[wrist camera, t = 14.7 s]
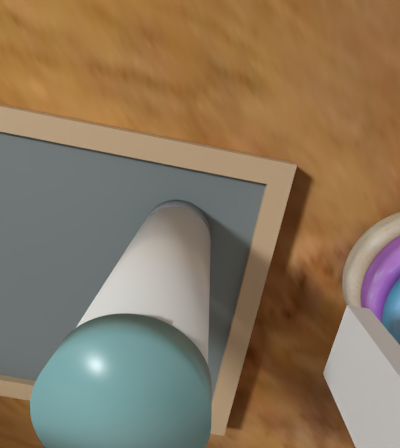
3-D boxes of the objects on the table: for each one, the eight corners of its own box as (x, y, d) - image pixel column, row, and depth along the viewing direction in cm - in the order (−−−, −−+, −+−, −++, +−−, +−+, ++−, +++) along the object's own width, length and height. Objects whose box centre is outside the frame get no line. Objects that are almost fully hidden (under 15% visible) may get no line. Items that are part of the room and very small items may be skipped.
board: (-112, 357, 24) (-131, 371, 22) (-133, 77, 19) (-159, 74, 17) (223, 418, 24) (223, 435, 23) (291, 161, 19) (297, 165, 18)
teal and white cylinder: (137, 257, 20) (25, 470, 8) (147, 191, 19) (34, 324, 7) (205, 270, 20) (193, 500, 8) (219, 205, 19) (229, 360, 7)
